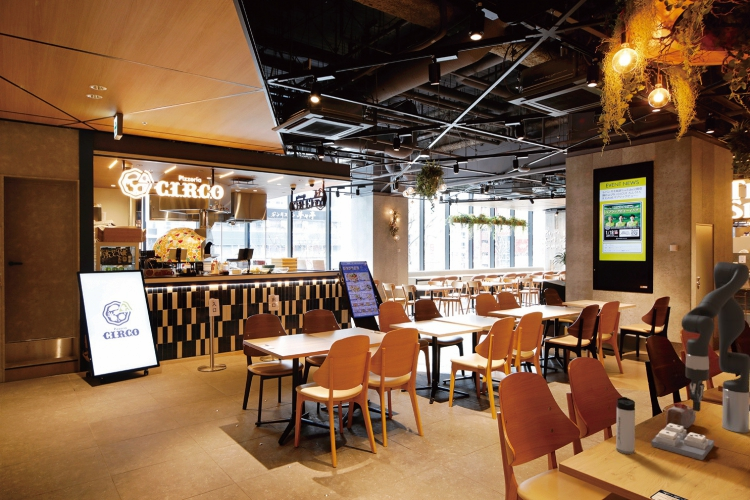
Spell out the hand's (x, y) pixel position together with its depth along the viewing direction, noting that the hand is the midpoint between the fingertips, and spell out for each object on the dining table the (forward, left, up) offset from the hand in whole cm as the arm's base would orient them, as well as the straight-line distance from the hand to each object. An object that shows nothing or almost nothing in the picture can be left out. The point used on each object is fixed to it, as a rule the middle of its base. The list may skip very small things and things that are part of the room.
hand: (696, 410), depth 183 cm
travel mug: (+22, -19, -16) cm, 33 cm away
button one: (+5, -9, -12) cm, 15 cm away
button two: (-5, -8, -12) cm, 15 cm away
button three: (0, 0, -12) cm, 12 cm away
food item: (-25, -11, -16) cm, 31 cm away
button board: (0, -5, -15) cm, 16 cm away
